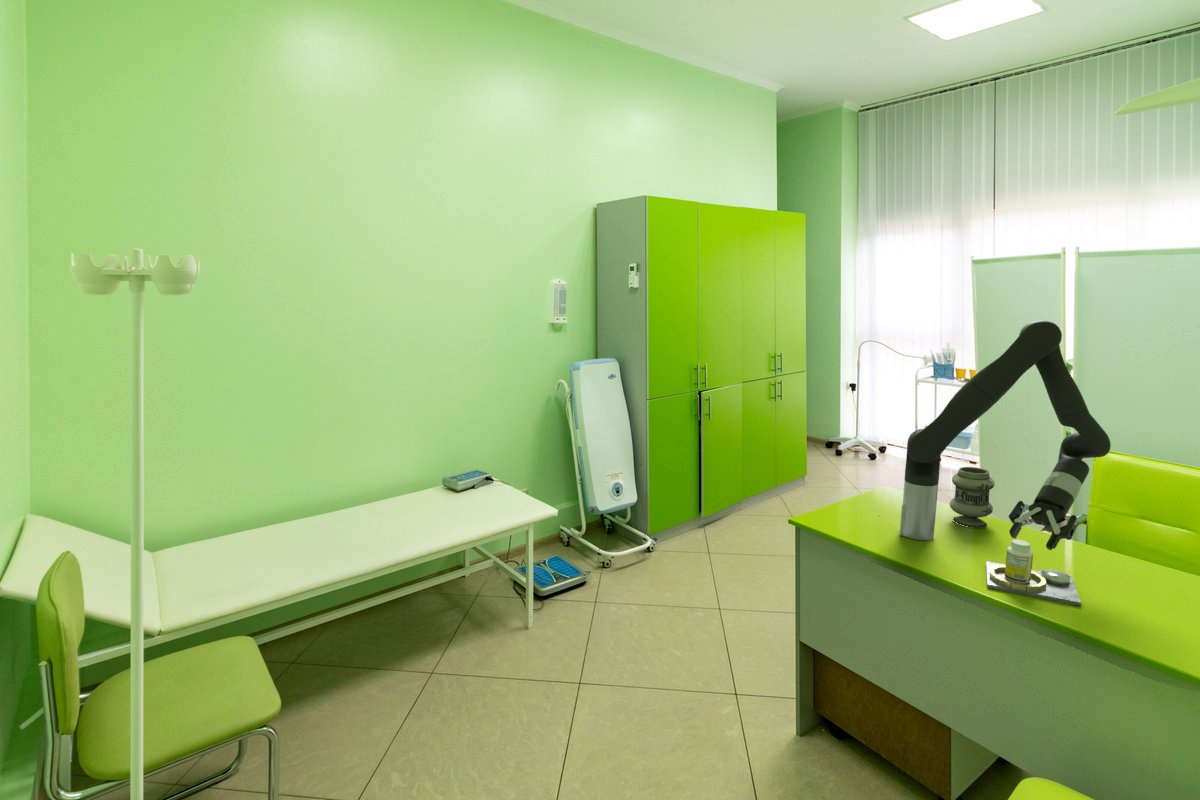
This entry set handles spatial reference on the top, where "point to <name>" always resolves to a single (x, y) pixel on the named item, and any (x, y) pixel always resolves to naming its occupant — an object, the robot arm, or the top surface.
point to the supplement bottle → (1019, 562)
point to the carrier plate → (1035, 584)
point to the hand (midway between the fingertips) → (1030, 542)
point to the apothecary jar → (972, 496)
